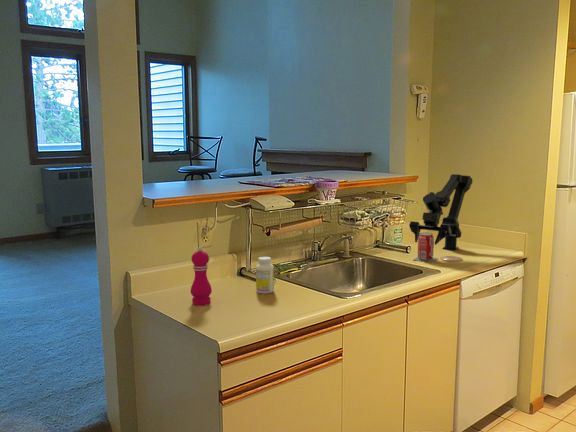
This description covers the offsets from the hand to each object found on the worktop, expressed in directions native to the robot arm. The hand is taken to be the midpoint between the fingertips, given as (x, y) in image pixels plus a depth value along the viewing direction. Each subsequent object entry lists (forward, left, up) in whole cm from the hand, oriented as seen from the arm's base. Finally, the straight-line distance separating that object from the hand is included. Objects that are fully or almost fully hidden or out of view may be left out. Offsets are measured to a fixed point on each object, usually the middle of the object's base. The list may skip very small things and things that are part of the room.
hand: (425, 243), depth 252 cm
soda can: (-1, 0, -8) cm, 8 cm away
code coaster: (-1, 0, -8) cm, 8 cm away
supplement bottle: (+80, -34, -8) cm, 88 cm away
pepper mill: (+103, -45, -8) cm, 113 cm away
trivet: (-8, +10, -8) cm, 15 cm away
